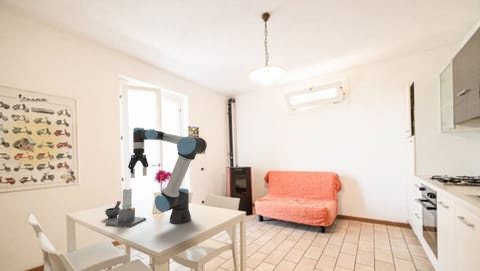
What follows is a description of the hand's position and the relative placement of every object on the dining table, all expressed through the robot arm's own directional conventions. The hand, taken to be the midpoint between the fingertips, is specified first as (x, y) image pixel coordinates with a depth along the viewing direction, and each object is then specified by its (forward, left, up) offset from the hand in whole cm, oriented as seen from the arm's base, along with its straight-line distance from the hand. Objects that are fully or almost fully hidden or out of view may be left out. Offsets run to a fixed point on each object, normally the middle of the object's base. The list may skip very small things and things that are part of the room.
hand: (138, 176), depth 157 cm
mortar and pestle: (+24, -3, -32) cm, 40 cm away
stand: (+6, +4, -32) cm, 33 cm away
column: (+6, +4, -25) cm, 26 cm away
